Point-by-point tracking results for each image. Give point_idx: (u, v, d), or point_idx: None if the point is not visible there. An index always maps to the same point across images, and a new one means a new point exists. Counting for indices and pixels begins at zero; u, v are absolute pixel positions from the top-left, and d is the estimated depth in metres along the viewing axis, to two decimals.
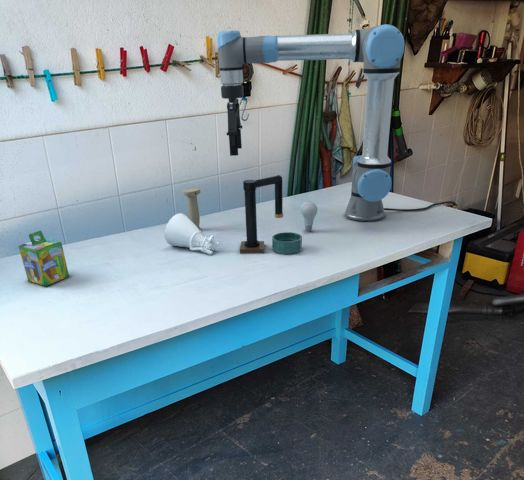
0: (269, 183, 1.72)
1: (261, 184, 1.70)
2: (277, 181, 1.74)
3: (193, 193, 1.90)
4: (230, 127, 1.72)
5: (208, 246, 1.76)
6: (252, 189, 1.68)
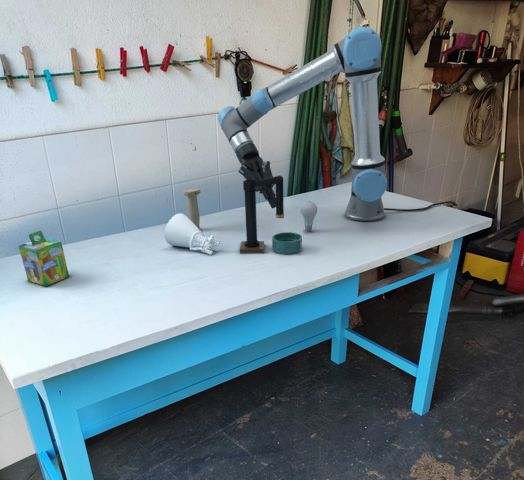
0: (270, 183, 1.72)
1: (261, 184, 1.70)
2: (278, 181, 1.73)
3: (193, 193, 1.90)
4: None
5: (208, 246, 1.76)
6: (252, 189, 1.68)
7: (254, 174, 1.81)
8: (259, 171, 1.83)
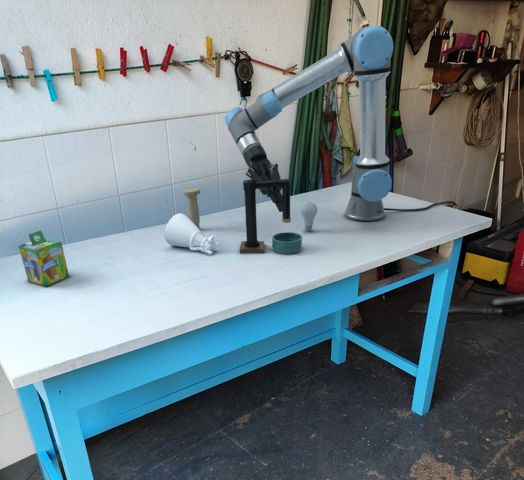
0: (272, 186, 1.69)
1: (262, 186, 1.68)
2: (282, 185, 1.69)
3: (193, 193, 1.90)
4: (261, 189, 1.76)
5: (208, 246, 1.76)
6: (249, 189, 1.67)
7: (262, 177, 1.77)
8: (267, 174, 1.79)
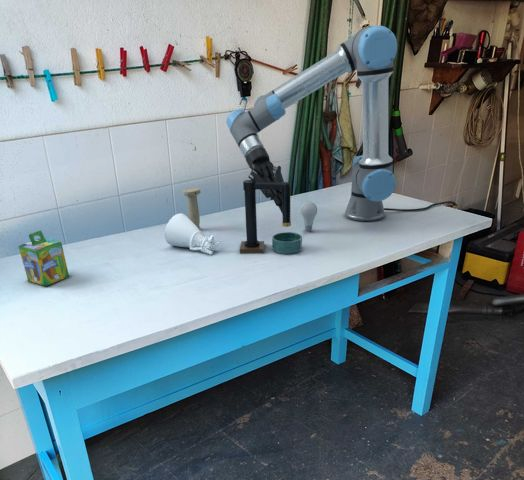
0: (271, 188, 1.67)
1: (260, 187, 1.67)
2: (281, 188, 1.66)
3: (193, 193, 1.90)
4: (264, 192, 1.73)
5: (208, 246, 1.76)
6: (247, 189, 1.68)
7: (265, 180, 1.74)
8: (270, 176, 1.75)
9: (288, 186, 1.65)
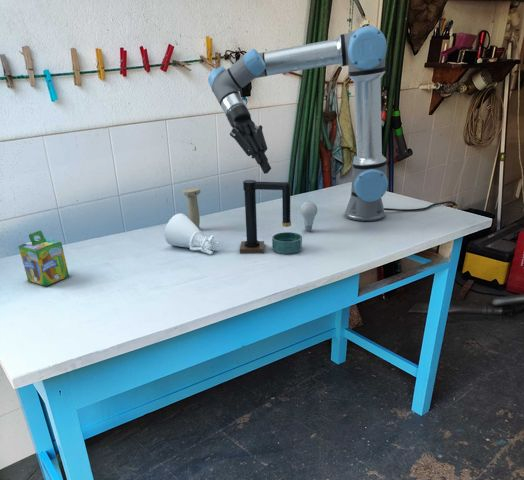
0: (271, 188, 1.67)
1: (260, 187, 1.67)
2: (281, 188, 1.66)
3: (193, 193, 1.90)
4: (246, 150, 1.74)
5: (208, 246, 1.76)
6: (247, 189, 1.68)
7: (246, 138, 1.75)
8: (251, 135, 1.76)
9: (288, 186, 1.65)
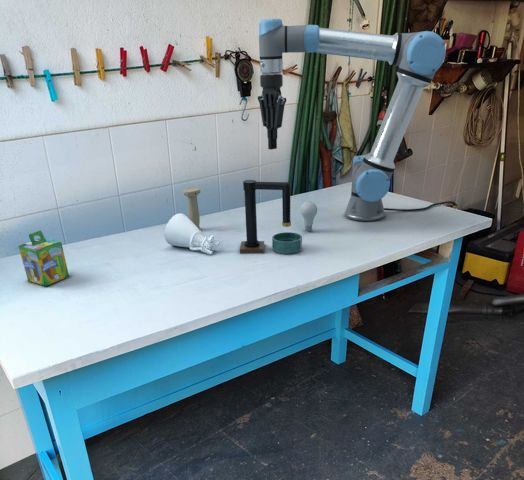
0: (271, 188, 1.67)
1: (260, 187, 1.67)
2: (281, 188, 1.66)
3: (193, 193, 1.90)
4: (278, 122, 1.78)
5: (208, 246, 1.76)
6: (247, 189, 1.68)
7: (276, 109, 1.78)
8: None
9: (288, 186, 1.65)
